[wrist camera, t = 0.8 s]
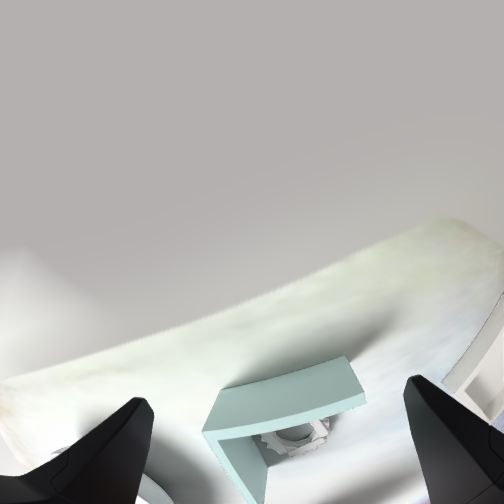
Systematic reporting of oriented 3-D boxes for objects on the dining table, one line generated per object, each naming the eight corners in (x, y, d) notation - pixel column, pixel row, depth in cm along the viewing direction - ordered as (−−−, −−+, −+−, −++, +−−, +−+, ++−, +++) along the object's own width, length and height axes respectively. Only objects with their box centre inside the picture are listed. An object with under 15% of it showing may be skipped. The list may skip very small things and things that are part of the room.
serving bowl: (53, 437, 28) (30, 455, 21) (122, 417, 25) (92, 448, 18) (132, 516, 27) (118, 538, 20) (221, 513, 25) (211, 546, 18)
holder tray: (476, 419, 20) (487, 429, 17) (441, 382, 21) (453, 394, 18) (528, 345, 19) (541, 351, 16) (502, 294, 20) (518, 298, 17)
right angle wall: (260, 465, 24) (254, 511, 17) (221, 387, 24) (201, 431, 17) (364, 439, 23) (380, 483, 15) (343, 352, 23) (364, 391, 15)
